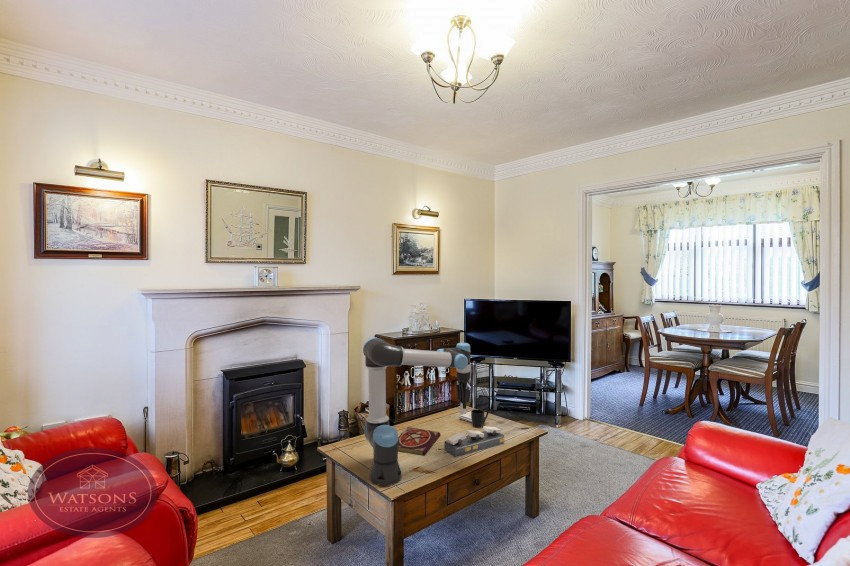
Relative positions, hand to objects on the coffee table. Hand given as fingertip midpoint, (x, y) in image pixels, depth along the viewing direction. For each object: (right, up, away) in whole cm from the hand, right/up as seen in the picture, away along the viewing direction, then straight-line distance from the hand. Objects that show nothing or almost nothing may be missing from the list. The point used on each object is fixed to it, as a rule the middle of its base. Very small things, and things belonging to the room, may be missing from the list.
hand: (463, 413), depth 232 cm
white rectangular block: (+7, -15, +5) cm, 17 cm away
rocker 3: (+17, -15, +11) cm, 25 cm away
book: (-26, -20, +10) cm, 35 cm away
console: (+7, -20, +5) cm, 22 cm away
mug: (+14, -19, +36) cm, 43 cm away
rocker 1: (-3, -15, -1) cm, 15 cm away
